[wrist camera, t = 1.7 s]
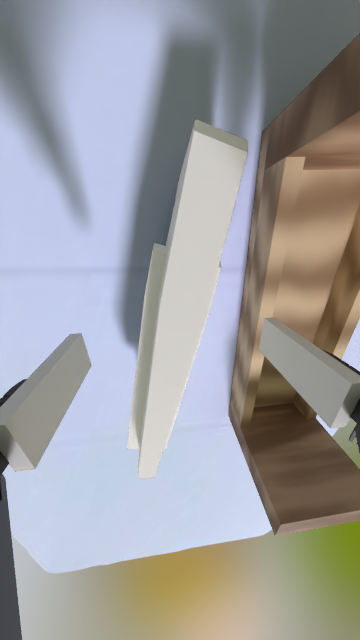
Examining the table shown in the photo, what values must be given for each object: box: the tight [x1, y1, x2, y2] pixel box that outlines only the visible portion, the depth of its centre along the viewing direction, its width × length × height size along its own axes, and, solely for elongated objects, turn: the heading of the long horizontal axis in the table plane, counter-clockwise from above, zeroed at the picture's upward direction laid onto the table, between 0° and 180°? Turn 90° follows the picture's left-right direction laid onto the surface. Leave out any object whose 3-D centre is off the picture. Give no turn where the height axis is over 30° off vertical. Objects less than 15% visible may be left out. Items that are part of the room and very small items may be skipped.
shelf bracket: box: [127, 119, 248, 478], centre depth 18 cm, size 6×25×13 cm, turn 166°
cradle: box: [229, 34, 360, 536], centre depth 18 cm, size 37×12×14 cm, turn 2°
